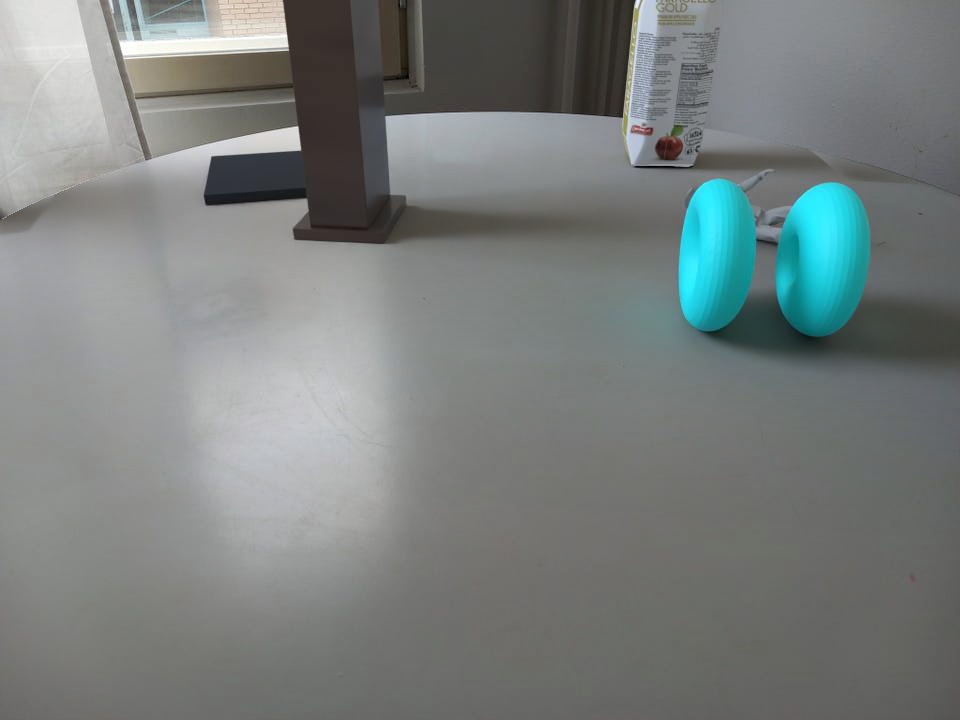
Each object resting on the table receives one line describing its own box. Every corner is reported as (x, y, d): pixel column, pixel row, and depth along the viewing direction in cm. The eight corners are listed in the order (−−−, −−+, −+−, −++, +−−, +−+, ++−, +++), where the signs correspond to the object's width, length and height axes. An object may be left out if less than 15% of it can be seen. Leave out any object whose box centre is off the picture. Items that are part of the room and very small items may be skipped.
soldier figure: (805, 278, 60) (672, 213, 63) (788, 294, 65) (665, 233, 67) (849, 198, 61) (716, 137, 63) (828, 220, 66) (705, 162, 68)
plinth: (327, 201, 73) (285, -185, 57) (406, 205, 73) (386, -186, 57) (293, 239, 65) (233, -203, 49) (383, 243, 64) (352, -204, 48)
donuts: (849, 366, 47) (895, 214, 42) (688, 357, 48) (713, 208, 43) (806, 296, 55) (840, 163, 50) (670, 290, 56) (689, 159, 51)
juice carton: (702, 170, 83) (732, -21, 73) (624, 169, 83) (644, -22, 73) (688, 151, 89) (715, -26, 79) (616, 150, 89) (634, -27, 80)
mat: (213, 164, 84) (211, 156, 84) (302, 158, 86) (301, 150, 86) (205, 205, 72) (203, 195, 72) (309, 197, 75) (308, 187, 74)
